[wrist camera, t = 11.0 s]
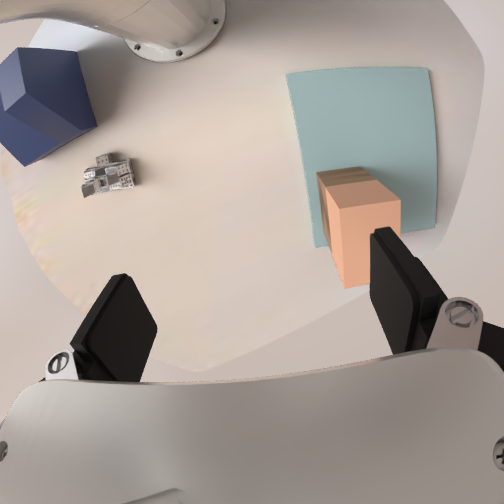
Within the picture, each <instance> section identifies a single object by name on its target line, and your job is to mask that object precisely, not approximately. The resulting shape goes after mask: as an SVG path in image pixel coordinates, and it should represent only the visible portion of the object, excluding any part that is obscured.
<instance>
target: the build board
mask: <svg viewBox="0 0 504 504" xmlns="http://www.w3.org/2000/svg"><path fill="white" fill-rule="evenodd" d="M286 79H287V84H288V88H289V93H290V98H291V102H292V107H293V112H294V117H295V123H296V128H297V133H298V139H299V144H300V150H301V156H302V162H303V168H304V174H305V180H306V186H307V193H308V200H309V207H310V214H311V221H312V229H313V236H314V244H315V247H316V248H317V247H323V246H329V245H328V243H327V240H326V237H325V235H324V232H323V223H322V215H321V207H320V199H319V191H318V184H317V177H316V172H322V171H328V170H335V169H343V168H350V167H358V166H360V167H361V168H363V169H364V170H365V171H367V172H368V173H369V174H370V175H372V176H373V177H374V178H375V179H377V180H378V181H379V182H380V183H381V184H382V185H384V186H385V187H386V188H387V189H388V190H390V191H391V192H392V193H393V194H394V195H396V196H397V197H398V198H399V199H400V200H401V224H400V233H406V232H412V231H418V230H423V229H429V228H435V219H436V199H437V153H436V133H435V120H434V110H433V101H432V93H431V86H430V79H429V73H428V68H412V67H356V68H339V69H326V70H316V71H307V72H298V73H291V74H286Z"/></svg>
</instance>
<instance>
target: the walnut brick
mask: <svg viewBox="0 0 504 504" xmlns="http://www.w3.org/2000/svg"><path fill="white" fill-rule="evenodd" d="M316 177H317V184H318V191H319V199H320V207H321V215H322V223H323V232H324V235H325V237H326V240H327V243H328V245H329V248H330V250H331V253H332V247H331V236H330V225H329V216H328V207H327V198H326V190H325V187H328V186H335V185H341V184H349V183H356V182H363V181H371V180H377V179H375V178H374V177H373V176H372V175H370V174H369V173H368V172H367V171H365V170H364V169H363V168H361V167H360V166H358V167H350V168H343V169H335V170H328V171H322V172H316Z"/></svg>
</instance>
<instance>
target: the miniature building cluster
mask: <svg viewBox="0 0 504 504" xmlns="http://www.w3.org/2000/svg"><path fill="white" fill-rule="evenodd" d="M96 161H97V166H98V167H96V168H92V169H89V168H88V169H86V170H85V171H84V176H85V180H84V184H82V187H81V188H82V192H83V196H84V198H85V197H87V196H90V195H93V194H98V193H106V192H112V191H113V190H116V189H120V188H121V189H124V188H132V187H134V186H136V183H135V178H134V173H132V172H133V171H132V166H131V161H130V159H128V160H127V161H123V162H118V163H116V162H115V163H111V162H113V161H112V156H111V153H109V154H107V155H104V156H103V155H101V156H99V157H96ZM102 166H105V167H102ZM99 167H100V168H99Z"/></svg>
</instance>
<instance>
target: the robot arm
mask: <svg viewBox="0 0 504 504" xmlns="http://www.w3.org/2000/svg"><path fill="white" fill-rule="evenodd" d="M225 14H226V7H225V1H224V0H0V24H1V23H7V22H12V21H18V20H24V19H53V20H60V21H65V22H70V23H74V24H79V25H82V26H86V27H89V28H93V29H97V30H100V31H103V32H107V33H110V34H113V35H116V36H119V37H122V38H124V40H125V42H126V44H127V45H128V47H129V48H130V49H131V50H132V51H133V52H134V53H135V54H136V55H138V56H140V57H141V58H144V59H147V60H149V61H154V62H162V63H168V62H176V61H180V60H184V59H187V58H189V57H191V56H193V55H195V54H197V53H198V52H200V51H202V50H203V49H204V48H206V47H207V46H208V45H209V44H210V43H211V42H212V41H213V40H214V39H215V37H216V36H217V35H218V33H219V31H220V30H221V28H222V26H223V23H224V20H225ZM215 22H218V24H216V25H215V24H214V23H215ZM140 46H141V48H140V49H139V47H140ZM181 52H183V54H182V55H181V56H180V55H179V54H180V53H181ZM370 298H371V301H372V304H373V306H374V308H375V311H376V313H377V316H378V318H379V320H380V323H381V325H382V328H383V330H384V333H385V335H386V338H387V340H388V343H389V345H390V348H391V350H392V353H393V355H390V356H385V357H380V358H376V359H371V360H366V361H362V362H356V363H351V364H346V365H340V366H335V367H329V368H323V369H317V370H311V371H304V372H297V373H290V374H282V375H275V376H266V377H255V378H245V379H233V380H219V381H201V382H146V383H145V382H140V379H141V376H142V373H143V371H144V368H145V365H146V362H147V359H148V356H149V353H150V350H151V348H152V345H153V342H154V339H155V337H156V334H157V325H156V323H155V321H154V319H153V317H152V315H151V314H150V312H149V310H148V308H147V306H146V304H145V302H144V300H143V299H142V297H141V295H140V293H139V291H138V289H137V287H136V285H135V283H134V281H133V279H132V278H131V277H130V276H128V275H127V274H125V273H124V274H119V275H113V276H112V277H111V279H110V280H109V282H108V283H107V285H106V286H105V288H104V289H103V291H102V292H101V294H100V295H99V297H98V298H97V300H96V301H95V303H94V304H93V306H92V308H91V309H90V311H89V312H88V314H87V316H86V318H85V319H84V320H83V322H82V324H81V325H80V327H79V329H78V330H77V332H76V334H75V336H74V337H73V339H72V341H71V342H70V345H71V346H72V347H73V349H74V350H75V351H74V352H73V353H72V352H71V351H70V350H67V349H63V350H60V351H58V352H56V353H55V354H53V355H52V356H51V358H50V359H49V360H48V362H47V363H46V366H45V378H43V379H42V380H41V381H39V382H38V383H34V384H32V385H30V386H28V387H26V388H24V389H23V390H22V391H21V392H20V394H19V395H18V397H17V398H16V400H15V401H14V403H13V405H12V407H11V409H10V410H9V412H8V414H7V416H6V418H5V419H4V421H3V422H2V423H1V424H0V504H504V328H501V327H498V326H495V325H493V324H490V323H487V322H484V321H483V312H482V310H481V308H480V307H479V306H478V304H476V303H475V302H474V301H472V300H470V299H467V298H462V297H455V298H451V299H448V298H447V296H446V295H445V294H444V292H443V291H442V290H441V288H440V287H439V285H438V284H437V282H436V281H435V280H434V278H433V277H432V276H431V274H430V273H429V271H428V270H427V269H426V267H425V266H424V265H423V263H422V262H421V261H420V259H418V258H417V257H414V256H413V255H412V253H411V252H410V251H409V249H408V248H407V247H406V246H405V244H404V243H403V242H402V241H401V239H400V238H399V237H398V236H397V234H396V233H395V232H394V231H393V230H392V228H391V227H390V226H388V227H383V228H377V229H375V230H374V233H371V234H370Z"/></svg>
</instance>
